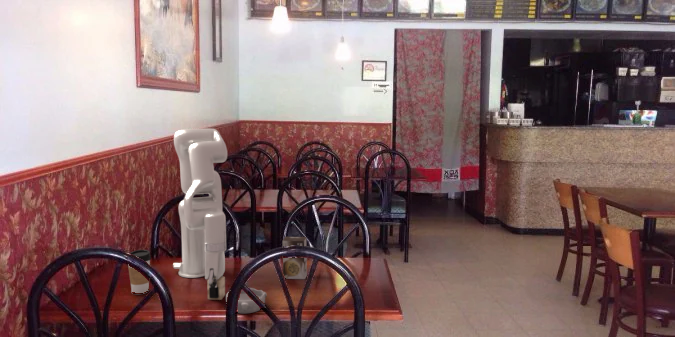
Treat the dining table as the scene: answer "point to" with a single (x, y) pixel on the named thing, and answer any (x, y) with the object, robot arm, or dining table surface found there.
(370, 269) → the dining table surface
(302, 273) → the coffee box
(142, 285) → the coffee cup
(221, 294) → the maple block
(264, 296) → the dish
